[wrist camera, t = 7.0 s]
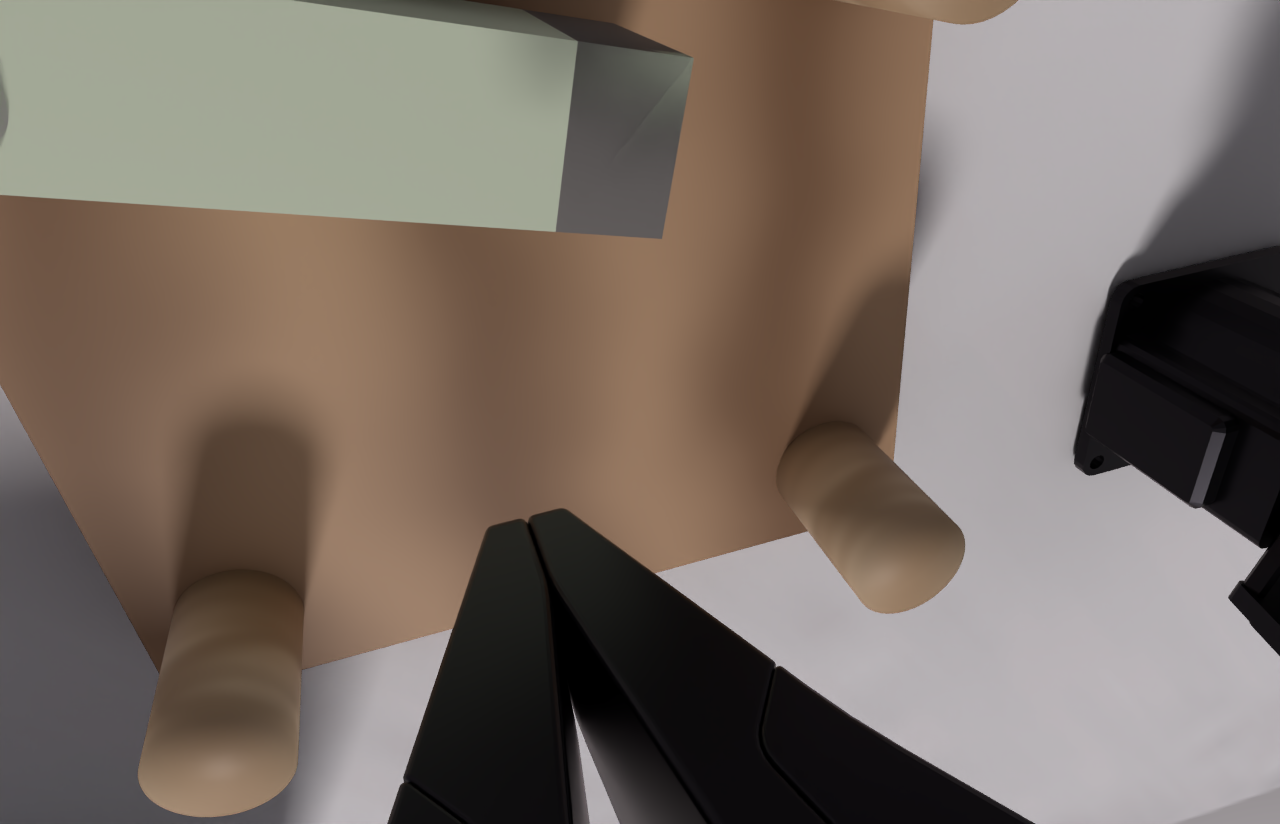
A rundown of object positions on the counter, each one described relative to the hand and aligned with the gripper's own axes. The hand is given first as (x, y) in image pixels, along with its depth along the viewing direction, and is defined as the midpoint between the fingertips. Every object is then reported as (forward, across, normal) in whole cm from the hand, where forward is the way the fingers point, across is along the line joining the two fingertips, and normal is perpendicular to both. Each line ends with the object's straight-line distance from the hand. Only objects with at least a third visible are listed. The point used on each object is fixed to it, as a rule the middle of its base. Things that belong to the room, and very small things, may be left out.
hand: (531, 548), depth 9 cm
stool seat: (+11, -1, +1) cm, 11 cm away
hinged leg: (+8, +2, -4) cm, 9 cm away
